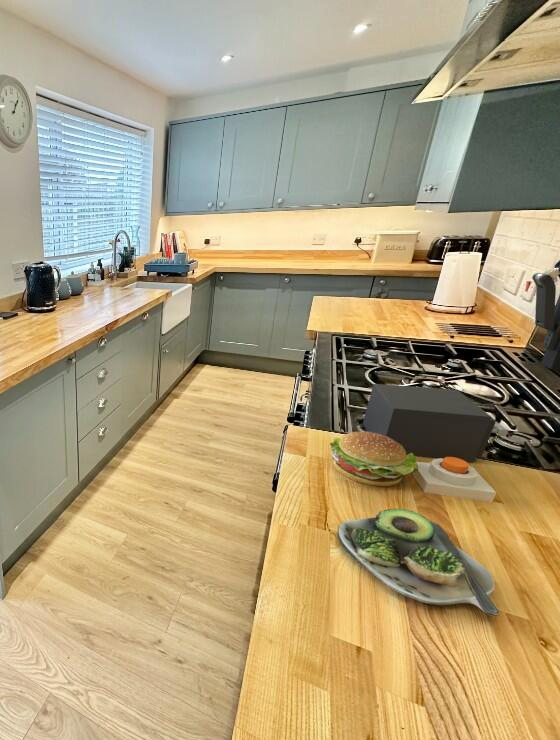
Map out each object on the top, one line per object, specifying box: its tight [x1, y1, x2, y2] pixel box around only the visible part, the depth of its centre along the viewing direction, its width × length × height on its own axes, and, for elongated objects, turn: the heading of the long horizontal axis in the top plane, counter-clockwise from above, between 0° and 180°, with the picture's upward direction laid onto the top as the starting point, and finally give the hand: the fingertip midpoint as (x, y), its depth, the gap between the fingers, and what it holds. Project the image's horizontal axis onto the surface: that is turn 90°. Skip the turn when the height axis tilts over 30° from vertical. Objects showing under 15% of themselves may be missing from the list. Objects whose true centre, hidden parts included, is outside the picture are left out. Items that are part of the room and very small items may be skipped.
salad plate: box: [337, 508, 500, 617], centre depth 63 cm, size 19×18×5 cm
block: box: [410, 458, 497, 503], centre depth 80 cm, size 10×8×4 cm
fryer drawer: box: [475, 417, 509, 460], centre depth 92 cm, size 19×13×9 cm
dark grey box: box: [362, 383, 493, 464], centre depth 94 cm, size 16×14×11 cm
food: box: [329, 430, 418, 487], centre depth 85 cm, size 14×14×8 cm
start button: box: [441, 457, 470, 474], centre depth 80 cm, size 4×4×2 cm
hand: (551, 366), depth 75 cm, fingers closed
